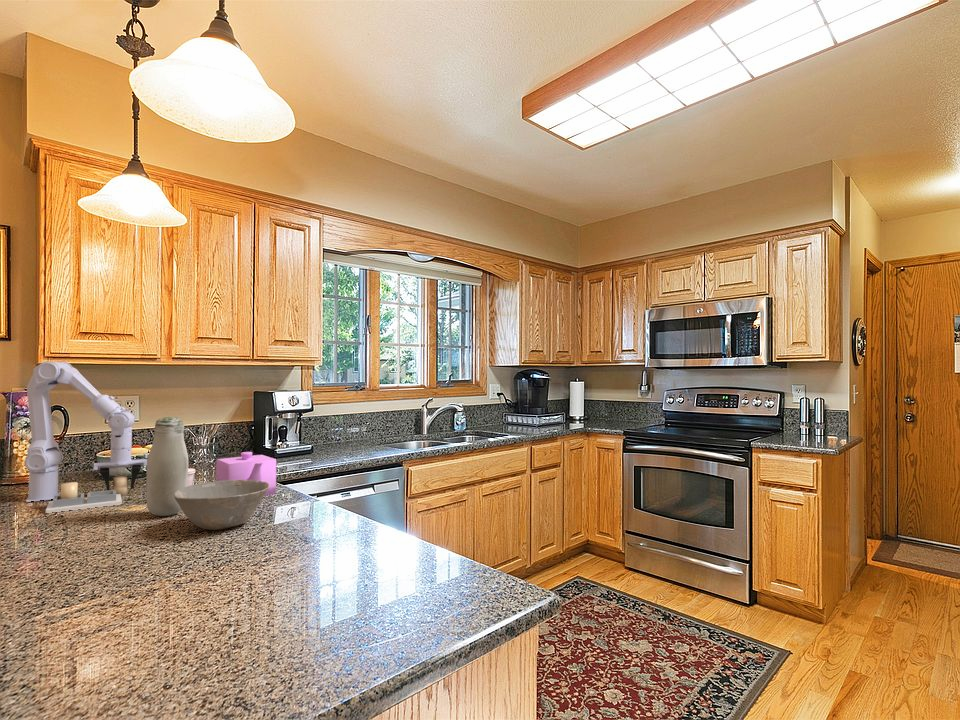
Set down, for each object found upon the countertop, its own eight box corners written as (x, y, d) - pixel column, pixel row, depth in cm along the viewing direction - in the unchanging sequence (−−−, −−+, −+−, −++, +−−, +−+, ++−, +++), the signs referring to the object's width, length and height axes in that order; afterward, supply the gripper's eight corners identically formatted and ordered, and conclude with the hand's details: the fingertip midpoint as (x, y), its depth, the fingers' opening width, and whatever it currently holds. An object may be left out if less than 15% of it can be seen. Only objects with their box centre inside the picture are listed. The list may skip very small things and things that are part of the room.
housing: (48, 505, 159) (49, 482, 159) (120, 496, 169) (120, 475, 169) (45, 513, 149) (46, 489, 149) (121, 504, 160) (122, 481, 160)
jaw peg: (112, 494, 172) (113, 476, 172) (127, 493, 175) (127, 475, 175) (112, 497, 169) (113, 478, 169) (127, 495, 171) (128, 477, 171)
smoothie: (187, 503, 162) (188, 458, 162) (167, 503, 162) (168, 458, 162) (199, 498, 168) (200, 455, 169) (179, 498, 168) (180, 454, 169)
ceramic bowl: (154, 530, 134) (155, 491, 134) (233, 510, 154) (234, 476, 155) (209, 544, 124) (210, 502, 124) (286, 520, 144) (286, 484, 144)
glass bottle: (141, 521, 142) (143, 418, 143) (153, 511, 152) (155, 415, 153) (181, 518, 145) (183, 418, 146) (190, 509, 155) (192, 415, 156)
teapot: (235, 505, 160) (236, 459, 160) (211, 491, 178) (212, 450, 179) (284, 497, 170) (284, 454, 171) (256, 485, 189) (257, 446, 189)
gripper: (93, 451, 165) (92, 494, 164) (148, 447, 173) (147, 488, 173) (94, 448, 170) (93, 490, 170) (146, 445, 179) (145, 485, 179)
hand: (120, 489), depth 172 cm, fingers open, 6 cm apart
